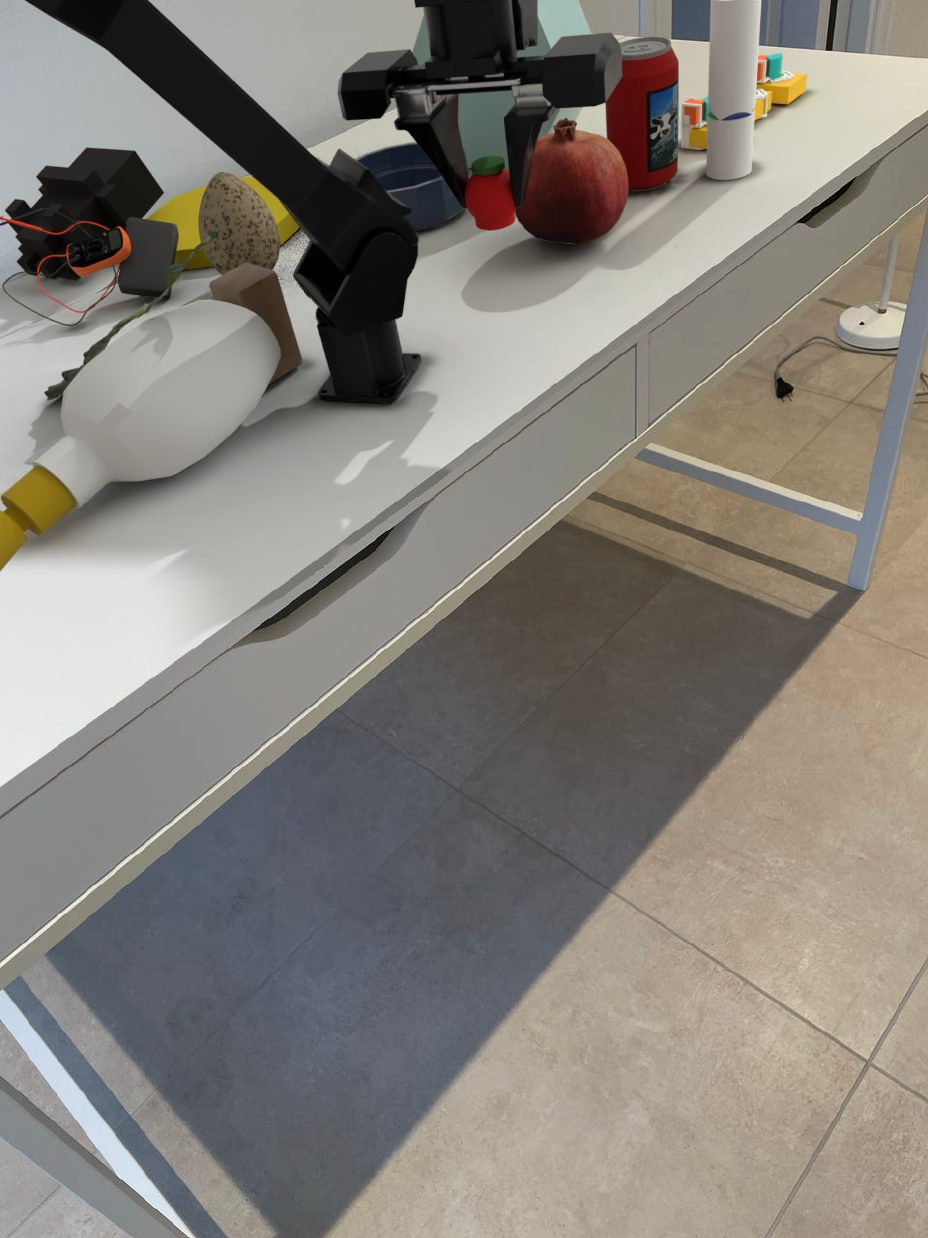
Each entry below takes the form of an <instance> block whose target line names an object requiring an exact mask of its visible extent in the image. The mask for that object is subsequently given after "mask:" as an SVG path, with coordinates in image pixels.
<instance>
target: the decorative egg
mask: <svg viewBox="0 0 928 1238" xmlns="http://www.w3.org/2000/svg"><path fill="white" fill-rule="evenodd" d="M239 178H240V177H238V176H236V175H234V174H232V173H230V172H226V171H219V172H216V173H215V174H214V175H213V176H212V177H211V179H210V180H209V181H208V183H207V184H206V185H207V187H206V189H205V191H204V194H203V197H202V201H201V205H200V209H199V217H198V226H199V236H200V240H201V241H202V240H203V239H205V238H208V237H209V236H210V232H211V231H216V230H217V229H219V230H218V233H217V234H216V237H215V238H213V240H211V242H210V243H205V245H204V246H203V250H204V252H205V254H206V256H207V258H208V260H209V261H210V263H211V264H212V267H213V268H214V270H216V271H217V272H218V273H219V274H220V275H221V276H222V275H223V274H225V273H227V272H229V271H231V270H233V269H234V268H236V267H238V266H240V265H242V264H244V263H250V264H254V265H257V266H260V267H264V268H267V269H270V270H274V268H275V267H276V265H277V263H278V260H279V257H280V251H281V245H280V238H279V232H278V227H277V224H276V221H275V219H274V217H273V215H272V213H271V211H270V209H269V208H268V206H267V205H266V203H265V202H264V200H263V199H262V198H261V197H260V196H259V195H258V193H257V192H256V191H255V190H254V189H253V188H251V187H250V186H249V185H248V184H246V183H245V182H244V181H242V180H241V179H239Z"/></svg>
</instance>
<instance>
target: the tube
mask: <svg viewBox="0 0 928 1238" xmlns="http://www.w3.org/2000/svg"><path fill="white" fill-rule="evenodd" d="M709 11H710V13H709V14H710V15H709V16H710V17H709V18H710V19H709V51H708V52H709V54H708V86H707V87H708V88H707V91H708V93H707V97H708V109H709V111H710V112H709V113H708V123H707V149H706V162H705V163H706V164H705V165H706V166H705V168H706V170H705V175H706V177H708V178H710V179H712V180H719V181H731V180H737V179H741V178H744V177H746V176H748V175H749V174H750V173H751V172H752V166H753V148H754V147H753V146H754V132H755V121H754V116H755V100H756V84H757V67H758V56H759V49H760V48H759V47H760V33H761V32H760V30H761V15H762V14H761V12H762V0H710V10H709Z"/></svg>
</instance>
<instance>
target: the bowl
mask: <svg viewBox="0 0 928 1238" xmlns="http://www.w3.org/2000/svg"><path fill="white" fill-rule="evenodd" d="M463 151H464V156H465V161H466V166H467V171H468V176H469V177H470V173H469V168H468V164H467V158H466V153H465V150H464V149H463ZM354 159H355V160H356V161H358V162H359V163H361V164H362V165H363V166H365V167H366V168H367V169H369V170H370V171H371V172H372V173H373V175H374V176H375V177H376V178H377V180H378V181H379V182H380V184H381V185H382V187H383V188H384V189H385V190H386V191H387V192H389V193H390V194H391V195H393V196H394V197H396V198H397V199H398V200H400V201H401V202H402V203H404V204H405V205H406V206H408V207H409V208H410V209H411V213H410V214H408V215H405V216H403V217H404V218H405V219H406V220H408V221H409V223H410V224H411V225H412V227H413V228H414V229H415V231H416V232H417V231H421V230H426V229H428V228H431V227H434V226H436V225H439V224H442V223H443V222H445V221H448V220H450V219H451V218H452V217H454V216H456V215H458V214H459V213H461V212H462V211H464V210H465V209H463V208H462V207H461V206H460V204H459V202H458V201H457V199H456V198H455V196H454V195H453V193H452V192H451V190H450V189H449V187H448V185H447V184H446V182H445V181H444V179H443V178H442V176H441V175H440V173H439V172H438V170H437V169H436V167H435V166H434V164H433V163H432V161H431V160H430V159H429V157H428V156H427V155H426V154H425V153H424V151H423V150H422V149H421V148H420V146H419V145H418V144H417V143H416V141H413V142H406V143H400V144H395V145H390V146H385V147H381V148H379V149H376V150H372V151H370V152H367V153H364V154H362V155H360V156H358V157H356V158H354Z"/></svg>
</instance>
